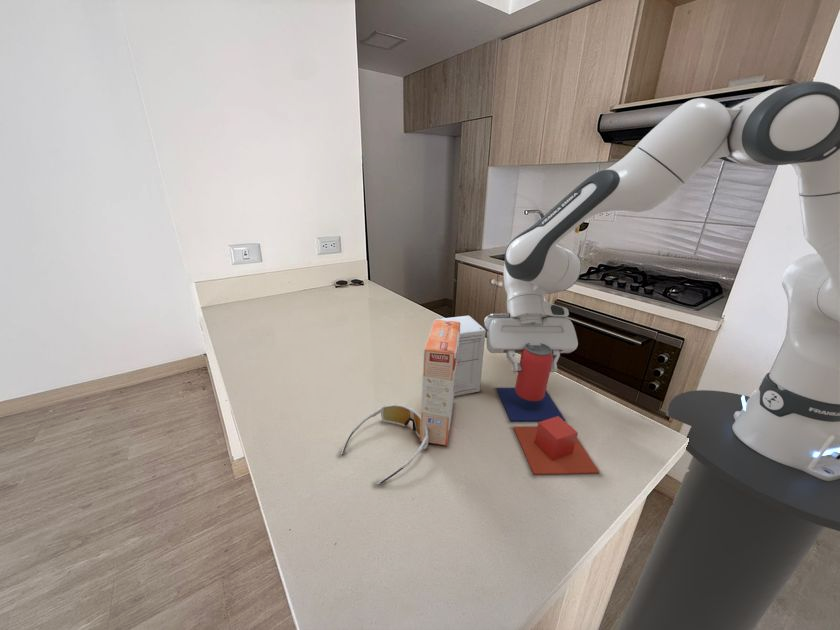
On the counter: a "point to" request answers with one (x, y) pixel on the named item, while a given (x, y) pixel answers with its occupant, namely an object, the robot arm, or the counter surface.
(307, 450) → the counter surface
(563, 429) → the red block
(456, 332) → the cracker box
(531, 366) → the beer can
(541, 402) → the navy mat
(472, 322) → the supplement box
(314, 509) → the counter surface
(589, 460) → the terracotta mat
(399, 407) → the sunglasses
